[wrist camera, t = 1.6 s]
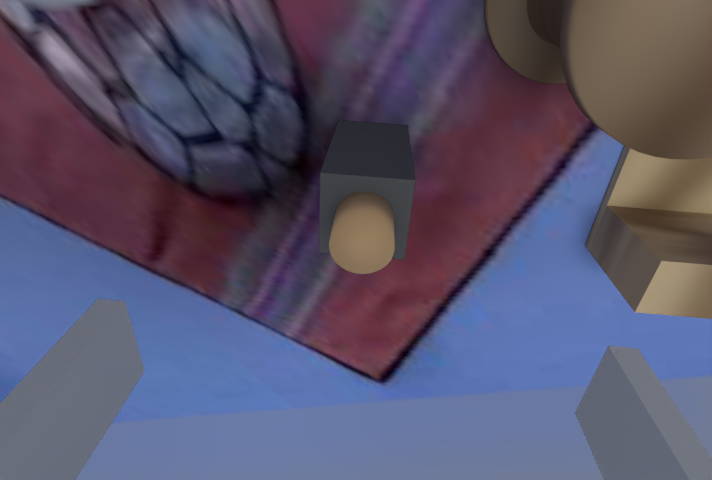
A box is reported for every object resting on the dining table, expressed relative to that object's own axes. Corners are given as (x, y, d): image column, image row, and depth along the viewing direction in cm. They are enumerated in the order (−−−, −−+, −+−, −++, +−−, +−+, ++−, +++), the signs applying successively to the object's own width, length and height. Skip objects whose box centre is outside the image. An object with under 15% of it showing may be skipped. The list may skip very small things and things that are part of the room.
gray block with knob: (336, 183, 27) (311, 283, 18) (338, 120, 25) (311, 197, 16) (399, 188, 27) (406, 291, 18) (407, 125, 25) (419, 205, 16)
